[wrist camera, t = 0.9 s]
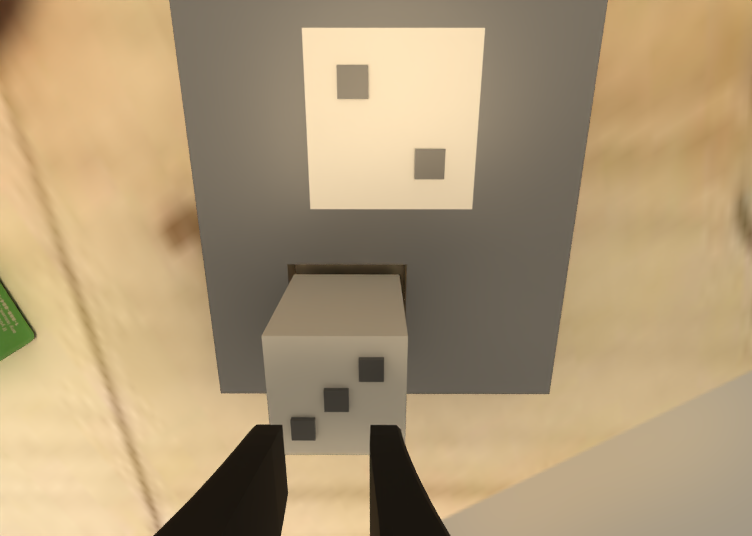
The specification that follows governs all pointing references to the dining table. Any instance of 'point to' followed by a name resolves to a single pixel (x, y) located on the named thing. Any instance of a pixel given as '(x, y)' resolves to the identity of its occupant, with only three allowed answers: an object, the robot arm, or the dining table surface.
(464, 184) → the key two
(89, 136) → the dining table surface
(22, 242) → the dining table surface
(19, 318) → the ink box
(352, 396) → the key three
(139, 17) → the dining table surface
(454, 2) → the keypad board
